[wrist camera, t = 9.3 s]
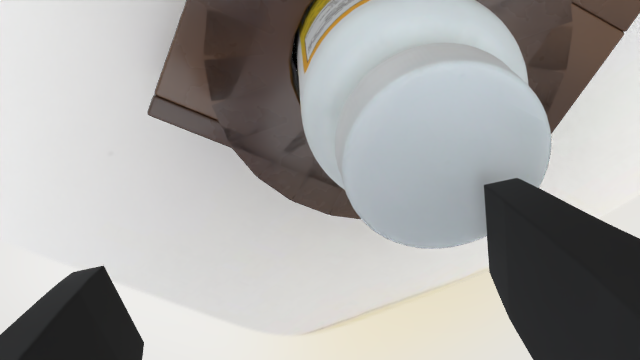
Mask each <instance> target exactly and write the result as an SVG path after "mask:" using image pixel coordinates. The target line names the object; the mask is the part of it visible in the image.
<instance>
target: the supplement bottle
mask: <svg viewBox="0 0 640 360" xmlns="http://www.w3.org/2000/svg"><path fill="white" fill-rule="evenodd" d="M296 54H297V66H298V76H299V89H300V106H301V116H302V123H303V128H304V133H305V136H306V139H307V142H308V144H309V147H310V149H311V151H312V153H313V155H314V157H315V159H316V160H317V162H318V163H319V165H320V166H321V167H322V169H323V170H324V171H325V173H326V174H327V175H328V176H329V177H330V178H331V179H332V180H333V181H334V182H335V183H337V184H338V185H339V186H340V187H342V188H343V189H344V190H345V192H346V195H347V197H348V199H349V201H350V203H351V205H352V207H353V208H354V210H355V212H356V213H357V214H358V215H359V217H360V218H361V219H362V220H363V221H364V222H365V223H366V224H367V225H368V226H369V227H370V228H371V229H372V230H374V231H375V232H377V233H378V234H380V235H382V236H384V237H385V238H387V239H389V240H392V241H394V242H396V243H399V244H403V245H406V246H411V247H417V248H447V247H454V246H458V245H463V244H467V243H470V242H473V241H475V240H478V239H481V238H484V237H486V236H487V227H486V212H485V197H484V185H485V184H490V183H495V182H499V181H504V180H509V179H513V178H519V179H521V180H523V181H525V182H527V183H529V184H531V185H533V186H535V187H537V188H539V186H540V184H541V182H542V180H543V178H544V175H545V172H546V170H547V167H548V162H549V159H550V152H551V131H550V126H549V122H548V118H547V115H546V112H545V110H544V108H543V106H542V104H541V102H540V100H539V99H538V97H537V95H536V94H535V93H534V92H533V90H532V89H531V88H530V87H529V85H528V76H527V70H526V65H525V62H524V59H523V56H522V53H521V51H520V48H519V46H518V44H517V42H516V40H515V38H514V37H513V35H512V34H511V32H510V31H509V29H508V28H507V27H506V26H505V24H504V23H503V22H502V21H501V20H500V19H499V18H498V17H497V16H496V15H495V14H494V13H493V12H491V11H490V10H489V9H488V8H486V7H485V6H483V5H482V4H480V3H479V2H477V1H476V0H313V2H312V3H311V4H310V5H309V7H308V8H307V9H306V11H305V14H304V16H303V18H302V20H301V22H300V25H299V27H298V29H297V31H296Z"/></svg>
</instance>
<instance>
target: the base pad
mask: <svg viewBox="0 0 640 360" xmlns="http://www.w3.org/2000/svg"><path fill="white" fill-rule="evenodd" d="M476 1H477V2H479V3H480V4H482V5H483V6H485V7H486V8H488V9H489V10H490V11H491V12H493V13H494V14H495V15H496V16H497V17H498V18H499V19H500V20H501V21H502V22H503V23H504V24H505V26H506V27H507V28H508V29H509V31H510V32H511V34H512V35H513V37H514V38H515V40H516V42H517V44H518V46H519V48H520V51H521V53H522V56H523V59H524V62H525V65H526V70H527V76H528V85H529V87H530V88H531V89H532V90H533V92H534V93H535V94H536V95H537V97H538V99H539V100H540V102H541V104H542V106H543V108H544V110H545V112H546V115H547V118H548V122H549V126H550V131H551V133H552V132H553V131H554V129H555V128H556V127H557V125H558V124H559V123H560V121H561V120H562V118H563V117H564V116H565V114H566V113H567V112H568V110H569V109H570V108H571V106H572V105H573V103H574V102H575V101H576V99H577V98H578V97H579V95H580V94H581V93H582V91H583V90H584V88H585V87H586V86H587V84H588V83H589V82H590V80H591V79H592V78H593V76H594V75H595V73H596V72H597V71H598V69H599V68H600V67H601V65H602V64H603V63H604V61H605V60H606V58H607V57H608V56H609V54H610V53H611V52H612V50H613V49H614V48H615V46H616V45H617V43H618V42H619V41H620V39H621V38H622V37H623V35H624V32H625V31H627V29H628V28H629V27H630V25H631V24H632V23H633V21H634V20H635V19H636V17H637V16H638V14H639V13H640V0H476ZM312 2H313V0H186V3H185V6H184V9H183V12H182V15H181V17H180V20H179V23H178V26H177V29H176V32H175V35H174V37H173V40H172V43H171V46H170V49H169V52H168V55H167V58H166V60H165V63H164V66H163V69H162V72H161V75H160V78H159V80H158V83H157V86H156V89H155V94H154V96H153V98H152V100H151V103H150V106H149V109H148V115H149V116H152V117H154V118H157V119H159V120H162V121H165V122H167V123H170V124H172V125H175V126H177V127H180V128H182V129H185V130H187V131H190V132H193V133H195V134H198V135H200V136H203V137H205V138H208V139H210V140H213V141H215V142H218V143H221V144H223V145H226V146H228V147H231V148H232V149H233V150H234V151H235V152H236V153H237V155H238V156H239V157H240V158H241V159H242V160H243V161H244V163H245V164H246V165H247V166H248V167H249V168H250V170H251V171H252V172H253V173H254V174H255V175H256V176H258V178H259V179H261V180H262V181H264V182H265V183H266V184H268V185H269V186H271V187H272V188H274V189H275V190H277V191H278V192H279V193H281V194H282V195H284V196H285V197H287V198H288V199H290V200H292V201H294V202H296V203H299V204H302V205H304V206H307V207H310V208H312V209H315V210H318V211H320V212H323V213H325V214H330V215H332V216H340V217H348V218H356V219H361V218H360V217H359V215H358V214H357V213H356V212H355V210H354V208H353V207H352V205H351V203H350V201H349V199H348V197H347V195H346V192H345V190H344V189H343V188H342V187H340V186H339V185H338V184H337V183H335V182H334V181H333V180H332V179H331V178H330V177H329V176H328V175H327V174H326V173H325V171H324V170H323V169H322V167H321V166H320V165H319V163H318V162H317V160H316V159H315V157H314V155H313V153H312V151H311V149H310V147H309V144H308V142H307V139H306V136H305V133H304V128H303V123H302V116H301V106H300V89H299V76H298V72H297V70H296V67H295V64H294V62H293V59H292V50H293V44H294V38H295V33H296V31H297V29H298V27H299V25H300V22H301V20H302V18H303V16H304V14H305V11H306V9H307V8H308V7H309V5H310V4H311V3H312Z"/></svg>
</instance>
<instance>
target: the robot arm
mask: <svg viewBox="0 0 640 360" xmlns="http://www.w3.org/2000/svg"><path fill="white" fill-rule="evenodd" d="M484 197H485V212H486V227H487V241H488V256H489V270H490V274H491V277H492V279H493V281H494V284H495V286H496V289H497V291H498V293H499V296H500V298H501V300H502V303H503V305H504V307H505V309H506V312H507V314H508V316H509V319H510V320H511V322H512V324H513V325H514V327H515V329H516V331H517V333H518V334H519V336H520V338H521V339H522V341H523V343H524V344H525V346H526V348H527V349H528V351H529V353H530V355H531V357H532V358H533V360H640V239H639V238H637V237H635V236H633V235H631V234H628V233H626V232H624V231H622V230H620V229H618V228H616V227H613V226H612V225H609V224H607V223H605V222H603V221H601V220H599V219H597V218H595V217H593V216H591V215H589V214H587V213H585V212H583V211H582V210H580V209H578V208H576V207H574V206H572V205H570V204H568V203H566V202H564V201H562V200H560V199H558V198H556V197H555V196H553V195H551V194H549V193H547V192H545V191H543V190H541V189H539V188H537V187H535V186H533V185H531V184H529V183H527V182H525V181H523V180H521V179H519V178H513V179H509V180H504V181H499V182H495V183H490V184H485V185H484ZM143 346H144V342H143V340H142V338H141V336H140V334H139V333H138V331H137V329H136V327H135V325H134V323H133V321H132V319H131V317H130V315H129V314H128V311H127V309H126V308H125V306H124V304H123V302H122V300H121V298H120V296H119V294H118V292H117V290H116V289H115V287H114V285H113V283H112V281H111V279H110V277H109V275H108V273H107V271H106V269H105V267H104V266H100V267H96V268H91V269H86V270H81V271H77V272H73V273H71V274H70V275H69V276H67V277H66V278H65V279H63V280H62V281H61V282H59V283H58V284H57V285H56V286H55V287H54V288H52V289H51V290H50V291H49V292H48V293H46V294H45V295H44V296H43V297H42V298H41V299H40V300H38V301H37V302H36V303H35V304H34V305H33V306H32V307H31V308H30V309H29V310H27V311H26V312H25V313H24V314H23V315H22V316H21V317H20V318H18V319H17V320H16V321H15V322H14V323H13V324H12V325H11V326H10V327H8V328H7V329H6V330H5V331H4V332H3V333H2V334H1V335H0V360H142V355H143Z"/></svg>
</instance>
